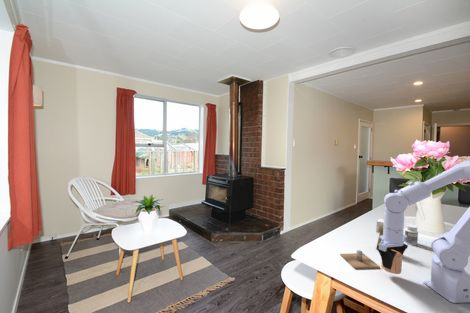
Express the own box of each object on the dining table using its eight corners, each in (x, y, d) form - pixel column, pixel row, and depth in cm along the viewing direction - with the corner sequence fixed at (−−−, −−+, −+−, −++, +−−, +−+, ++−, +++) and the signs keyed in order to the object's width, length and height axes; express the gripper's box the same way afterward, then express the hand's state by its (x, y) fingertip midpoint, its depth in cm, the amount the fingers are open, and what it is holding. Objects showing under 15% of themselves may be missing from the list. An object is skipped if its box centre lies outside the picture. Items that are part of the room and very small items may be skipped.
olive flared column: (395, 254, 92) (397, 229, 91) (379, 253, 93) (381, 228, 92) (388, 247, 97) (389, 224, 97) (373, 246, 99) (375, 223, 98)
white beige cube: (376, 232, 115) (376, 221, 115) (378, 229, 119) (379, 218, 119) (389, 235, 111) (390, 224, 110) (392, 232, 115) (392, 221, 115)
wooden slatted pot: (405, 273, 74) (406, 256, 73) (389, 274, 73) (390, 257, 73) (392, 264, 79) (393, 248, 79) (377, 264, 79) (378, 249, 78)
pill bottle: (404, 239, 106) (405, 223, 105) (417, 242, 103) (418, 225, 102) (404, 243, 102) (405, 226, 101) (417, 246, 99) (418, 228, 98)
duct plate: (380, 268, 81) (380, 257, 81) (354, 269, 81) (355, 258, 80) (362, 254, 91) (363, 245, 91) (340, 255, 91) (340, 245, 90)
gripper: (390, 220, 82) (388, 254, 83) (370, 227, 75) (368, 265, 76) (412, 226, 76) (410, 263, 77) (393, 235, 69) (391, 276, 70)
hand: (391, 265), depth 76 cm, fingers closed on wooden slatted pot, 6 cm apart
